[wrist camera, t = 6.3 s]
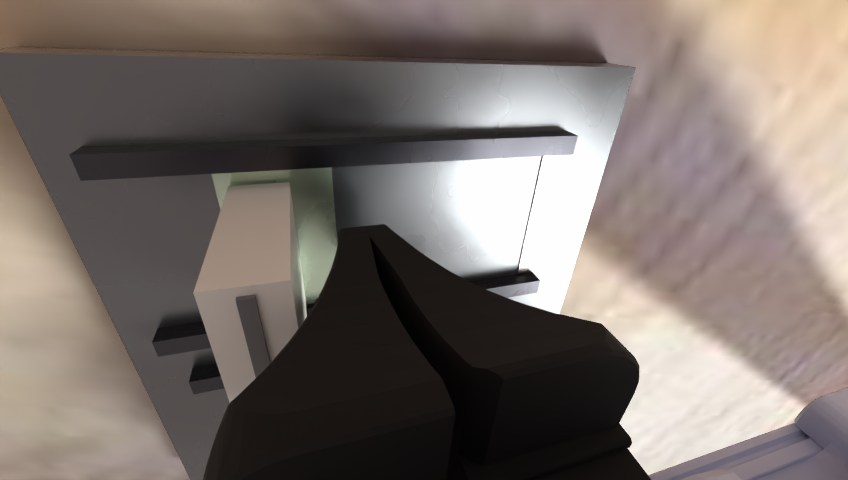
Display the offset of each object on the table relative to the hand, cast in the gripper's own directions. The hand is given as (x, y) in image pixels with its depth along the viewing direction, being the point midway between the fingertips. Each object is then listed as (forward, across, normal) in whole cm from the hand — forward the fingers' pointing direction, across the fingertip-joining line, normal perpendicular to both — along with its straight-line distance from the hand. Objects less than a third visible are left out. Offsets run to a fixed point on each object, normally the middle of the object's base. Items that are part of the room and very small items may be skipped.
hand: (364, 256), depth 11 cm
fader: (+1, +3, 0) cm, 3 cm away
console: (+2, -1, +3) cm, 4 cm away
